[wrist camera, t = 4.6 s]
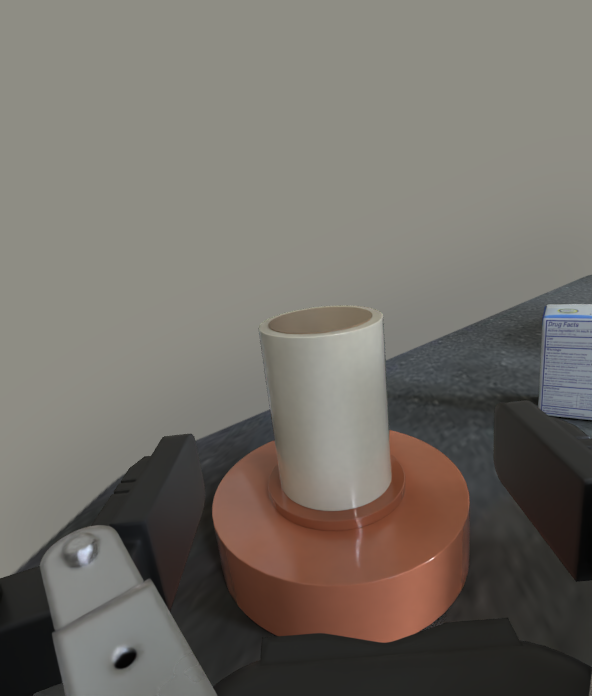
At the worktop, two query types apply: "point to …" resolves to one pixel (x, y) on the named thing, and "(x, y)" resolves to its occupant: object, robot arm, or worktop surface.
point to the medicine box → (566, 361)
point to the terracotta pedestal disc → (346, 548)
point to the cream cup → (329, 404)
